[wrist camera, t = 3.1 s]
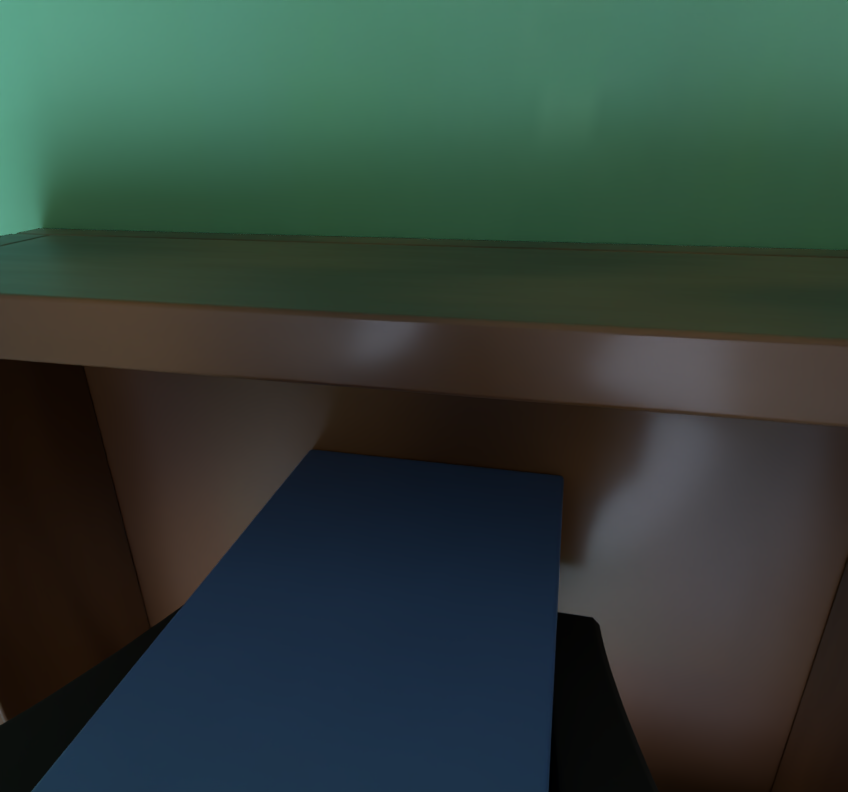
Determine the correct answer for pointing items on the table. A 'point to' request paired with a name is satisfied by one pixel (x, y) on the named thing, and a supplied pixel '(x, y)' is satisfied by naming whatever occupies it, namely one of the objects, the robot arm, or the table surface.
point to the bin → (452, 449)
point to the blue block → (352, 644)
